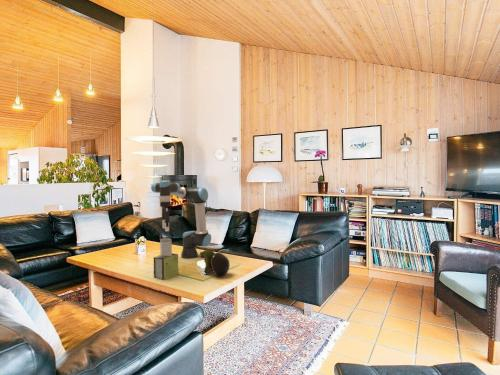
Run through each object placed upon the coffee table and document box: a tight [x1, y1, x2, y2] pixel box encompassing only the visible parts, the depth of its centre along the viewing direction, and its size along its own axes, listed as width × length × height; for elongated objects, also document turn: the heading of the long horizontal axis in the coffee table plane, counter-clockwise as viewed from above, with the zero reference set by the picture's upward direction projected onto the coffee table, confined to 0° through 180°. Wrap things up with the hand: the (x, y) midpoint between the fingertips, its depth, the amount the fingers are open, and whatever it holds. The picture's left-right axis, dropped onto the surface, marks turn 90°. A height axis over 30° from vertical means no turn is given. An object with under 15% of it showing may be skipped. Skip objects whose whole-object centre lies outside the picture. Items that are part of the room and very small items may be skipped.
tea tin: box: [159, 237, 173, 257], centre depth 230 cm, size 7×7×12 cm
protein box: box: [153, 252, 179, 281], centre depth 231 cm, size 10×15×16 cm
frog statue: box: [199, 249, 231, 278], centre depth 234 cm, size 19×16×25 cm
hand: (165, 229), depth 230 cm, fingers open, 13 cm apart
